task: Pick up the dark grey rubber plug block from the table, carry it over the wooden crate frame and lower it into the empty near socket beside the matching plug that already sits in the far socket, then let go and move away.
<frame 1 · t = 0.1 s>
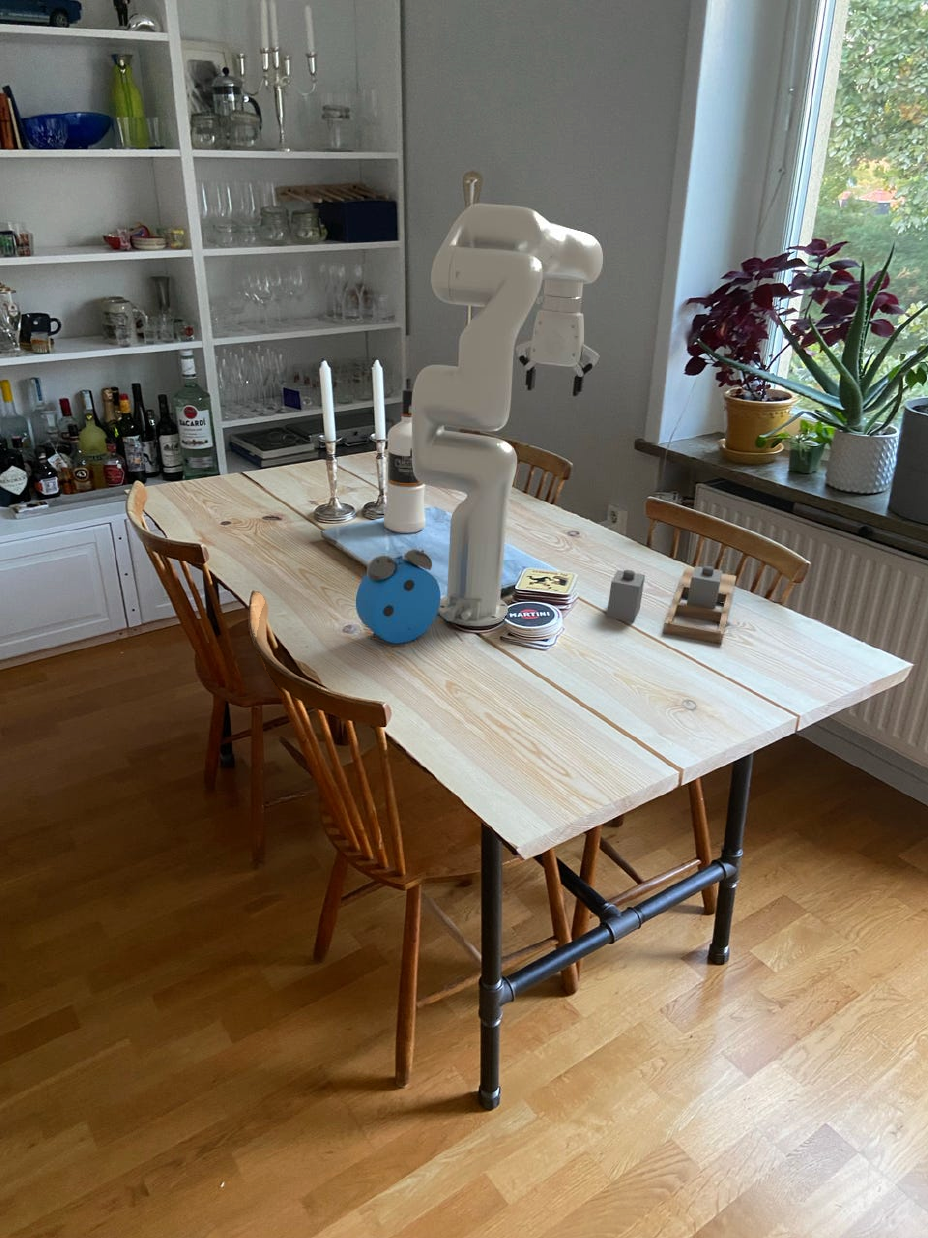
hand: (553, 392, 187), 31 cm above the table, tool pointing down, fingers open, 9 cm apart
vodka: (404, 527, 200), on the table
alarm clock: (397, 638, 152), on the table
twin plug: (700, 608, 169), resting in wooden crate frame
plug: (623, 613, 165), on the table
wooden crate frame: (698, 617, 166), on the table
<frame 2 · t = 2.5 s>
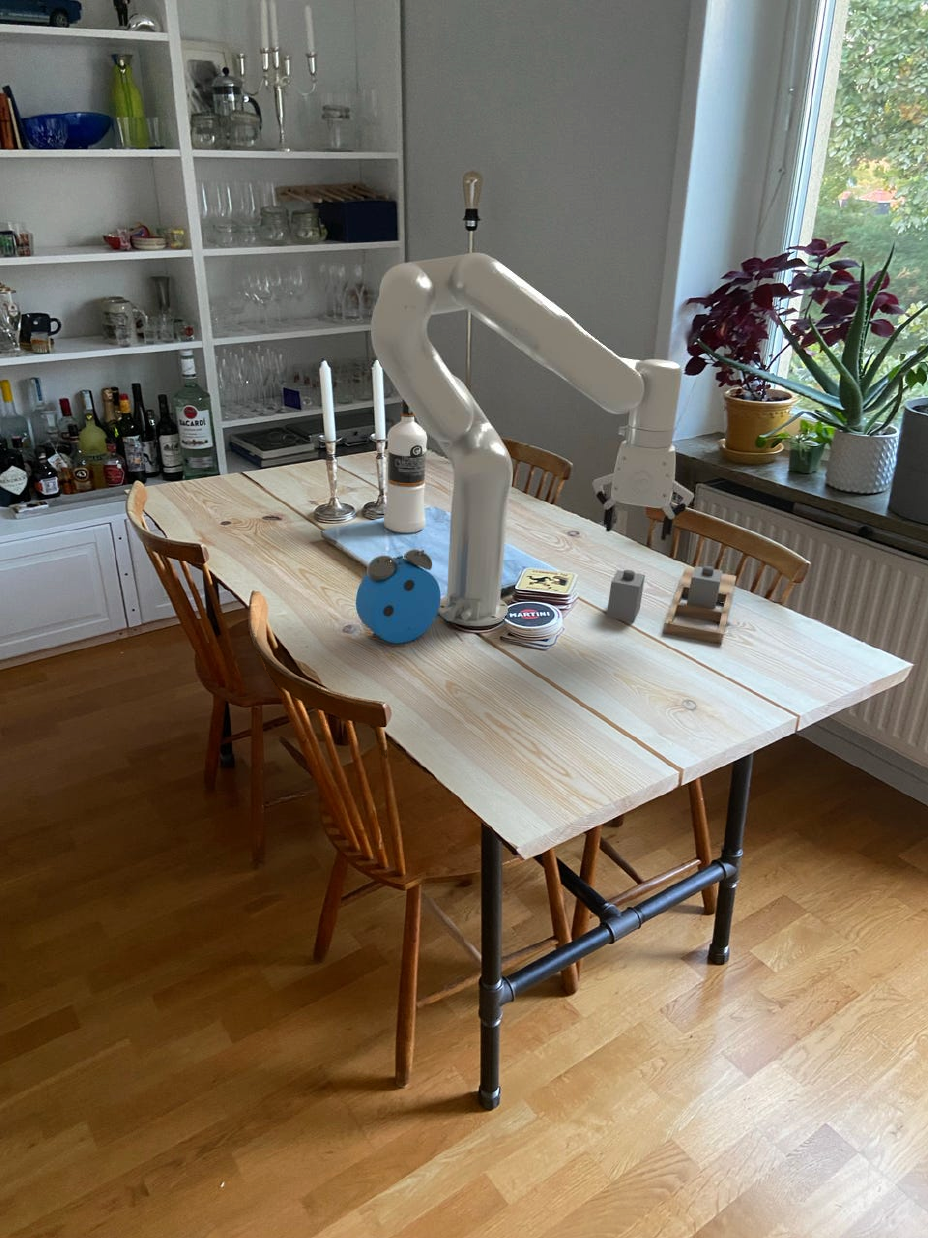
hand: (636, 533, 159), 15 cm above the table, tool pointing down, fingers open, 9 cm apart
nothing on the table moved.
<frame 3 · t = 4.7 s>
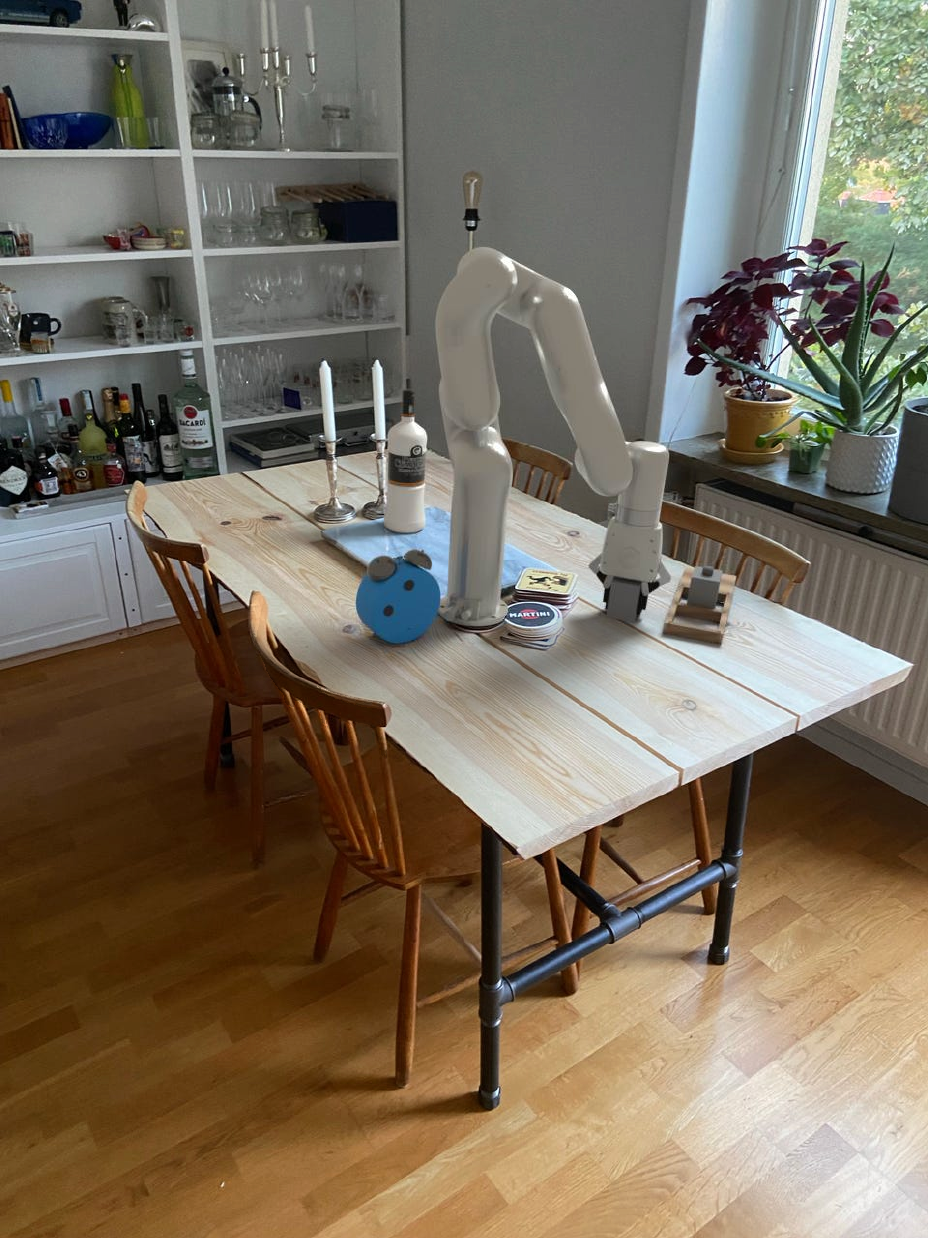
hand: (623, 608, 165), 1 cm above the table, tool pointing down, fingers closed on plug, 5 cm apart
plug: (623, 613, 165), on the table, touching gripper
everything else where it was.
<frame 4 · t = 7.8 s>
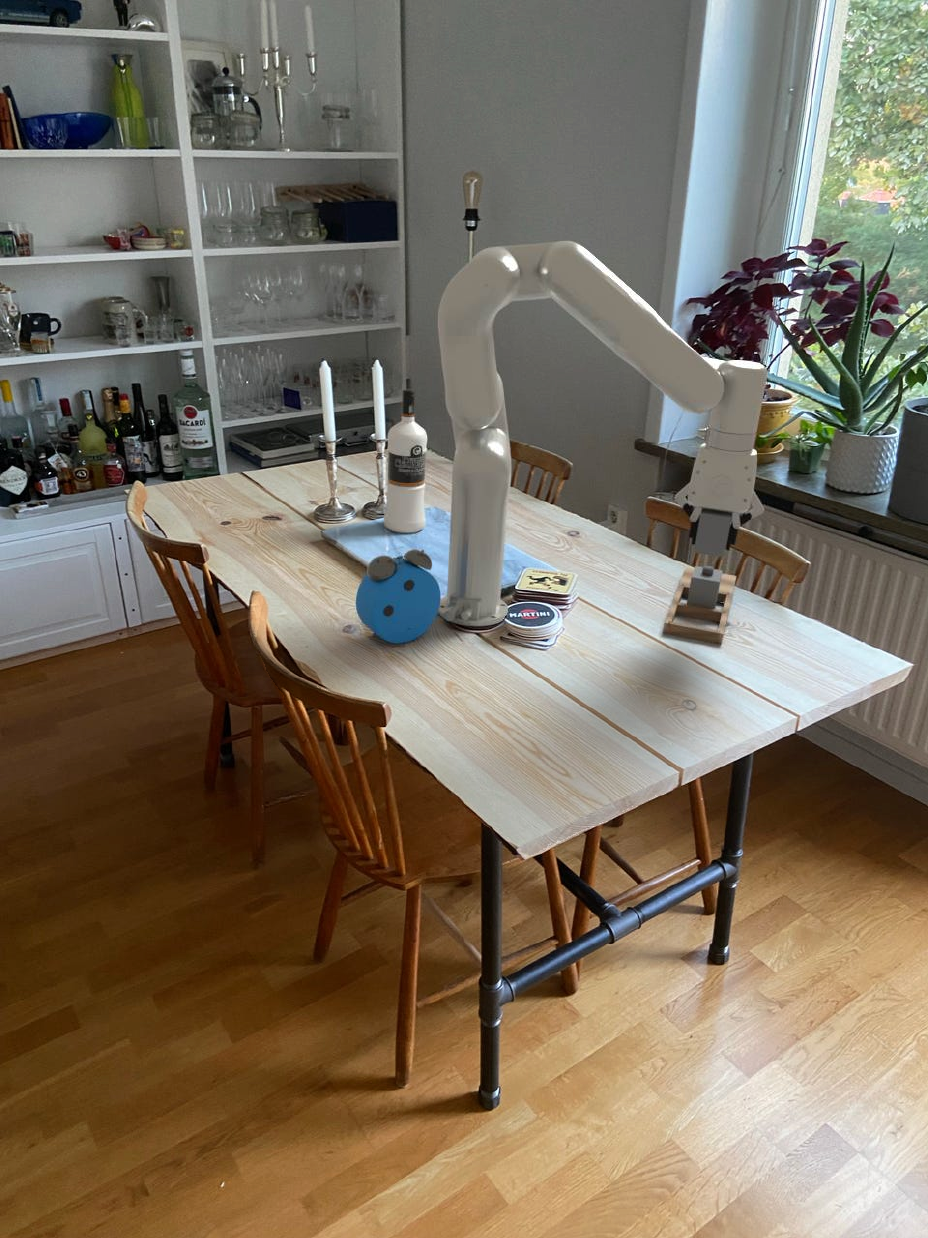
hand: (711, 543, 155), 16 cm above the table, tool pointing down, fingers closed on plug, 5 cm apart
plug: (710, 549, 155), point 15 cm above the table, touching gripper
everything else where it was.
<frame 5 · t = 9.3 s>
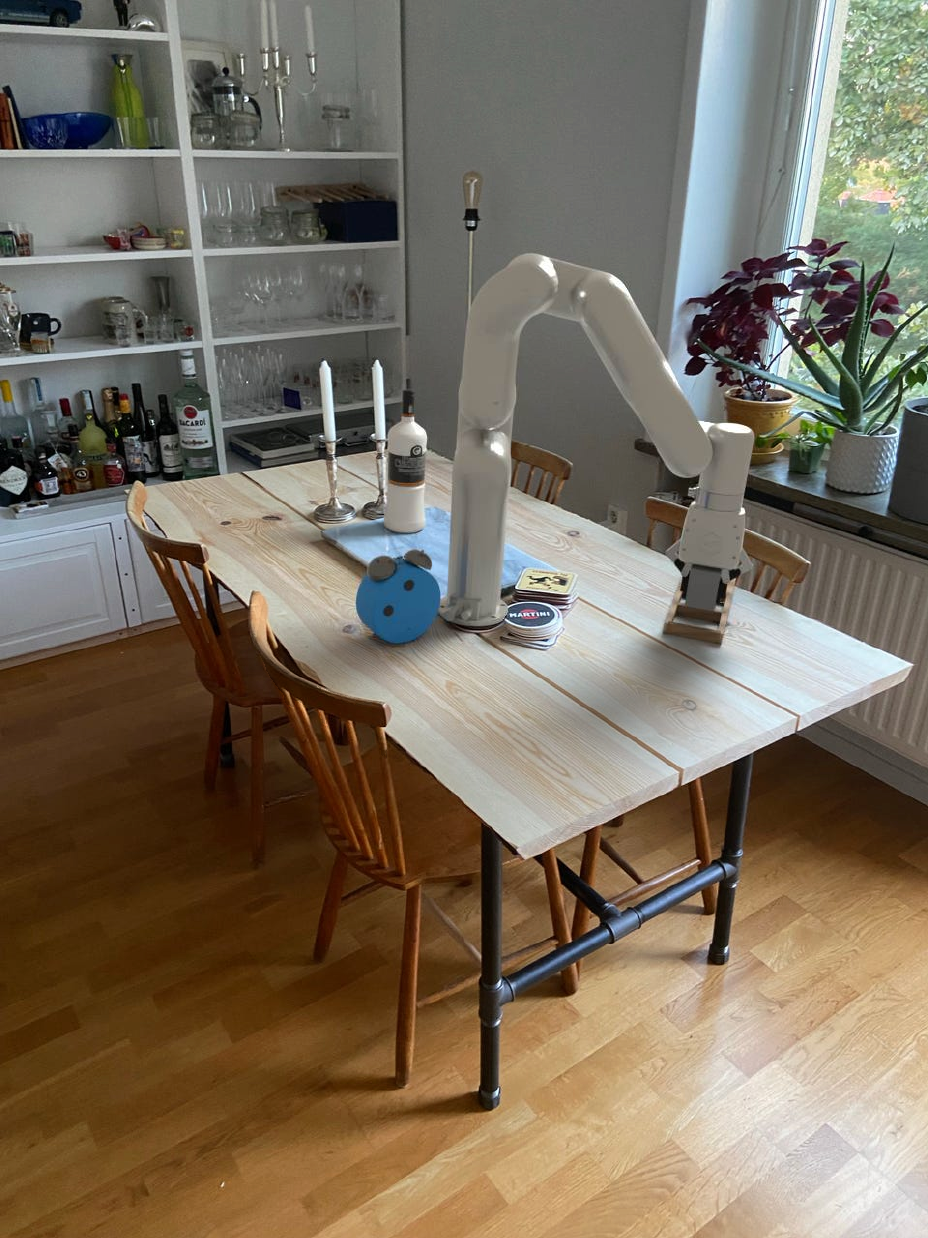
hand: (701, 597, 159), 6 cm above the table, tool pointing down, fingers closed on plug, 5 cm apart
plug: (701, 602, 160), point 5 cm above the table, touching gripper
everything else where it was.
when the fingers open (3 cm above the table, at t = 10.8 s): plug drops 2 cm, resting in wooden crate frame.
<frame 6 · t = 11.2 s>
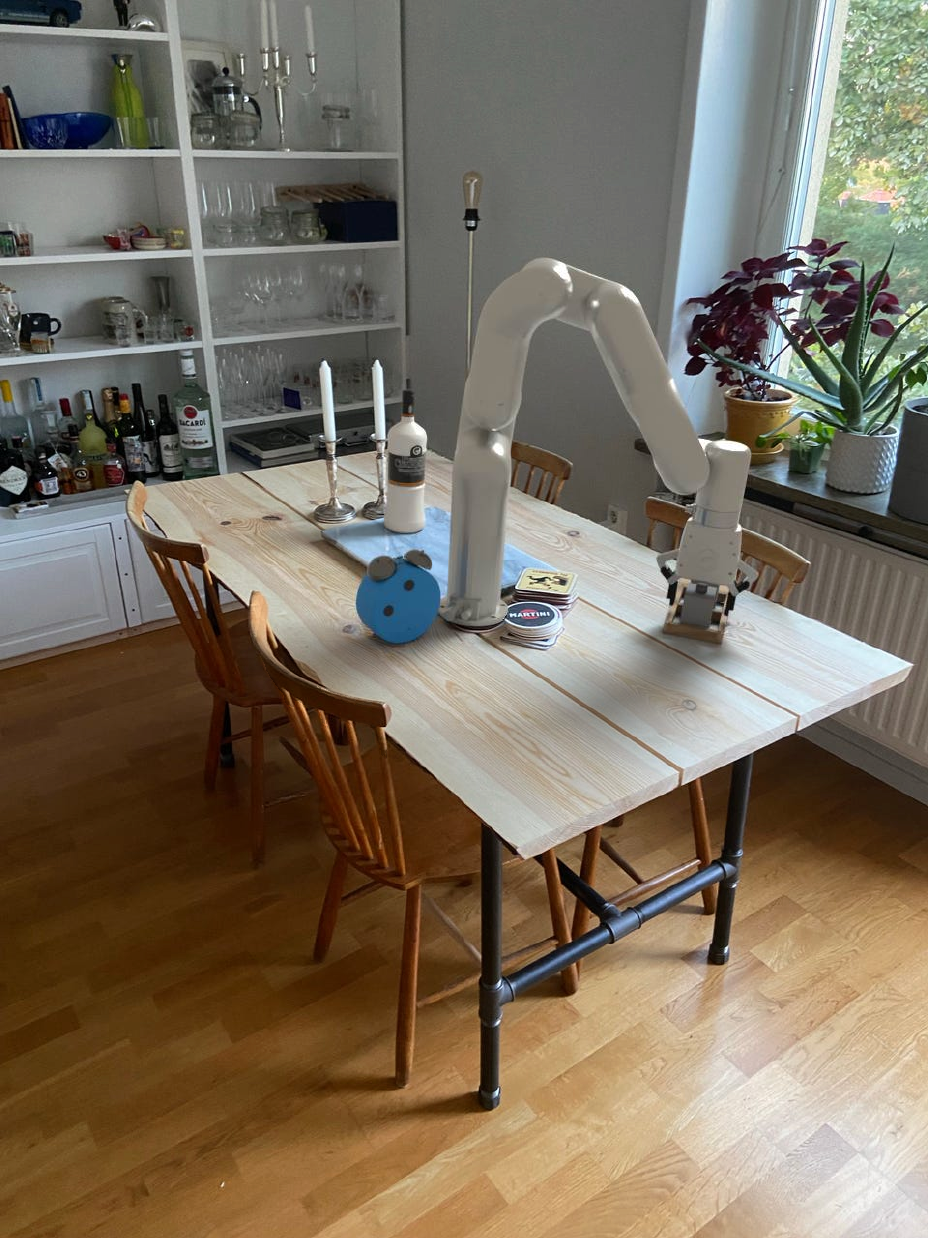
hand: (698, 608, 160), 4 cm above the table, tool pointing down, fingers open, 9 cm apart
plug: (694, 627, 162), resting in wooden crate frame
everything else where it was.
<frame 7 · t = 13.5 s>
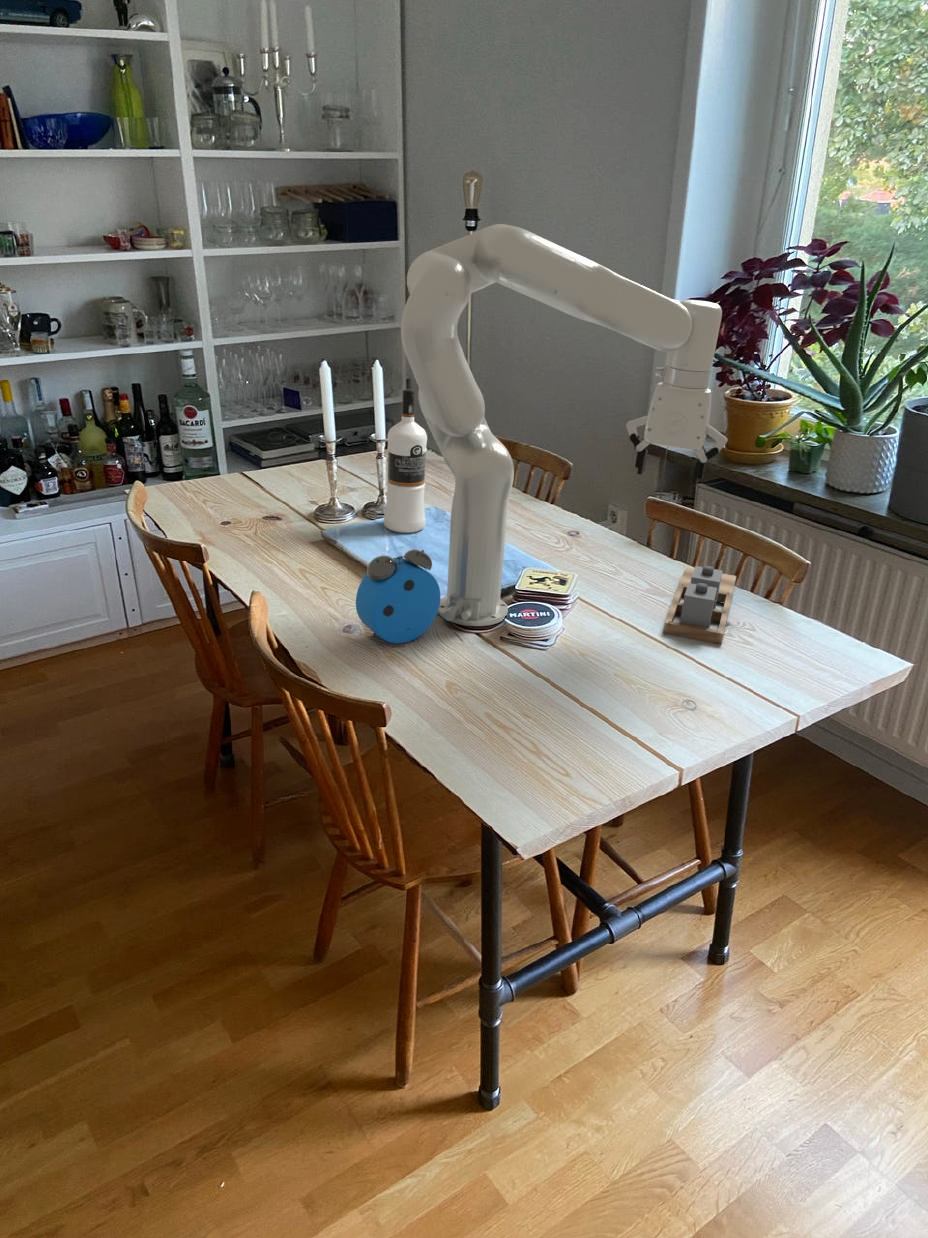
hand: (667, 477, 159), 24 cm above the table, tool pointing down, fingers open, 9 cm apart
nothing on the table moved.
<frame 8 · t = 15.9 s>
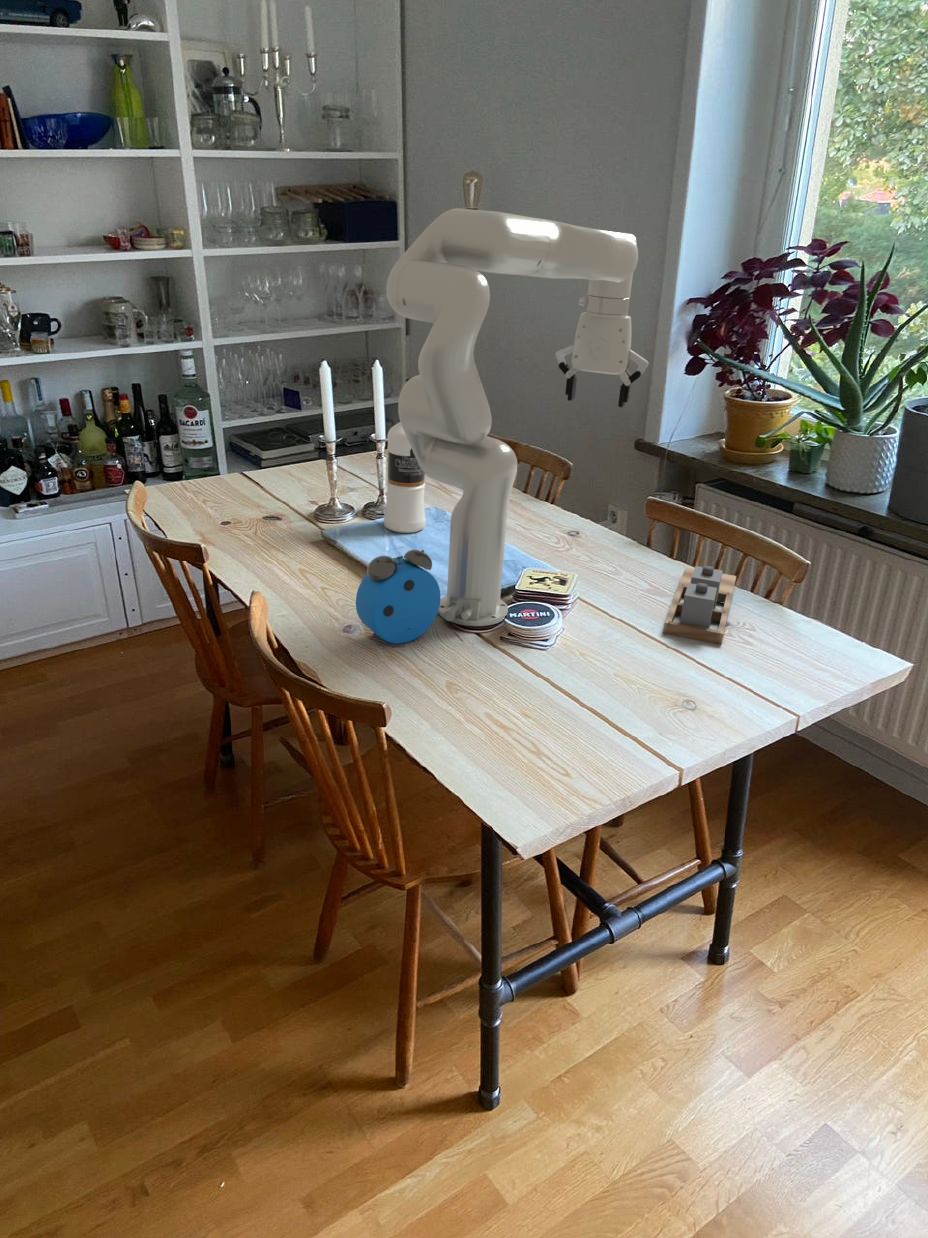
hand: (596, 402, 170), 33 cm above the table, tool pointing down, fingers open, 9 cm apart
nothing on the table moved.
at the end: plug 0.2 cm from the target spot on the wooden crate frame, point 0.0 cm above the wooden crate frame's base; plug tilted 0°; the gripper is holding nothing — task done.
